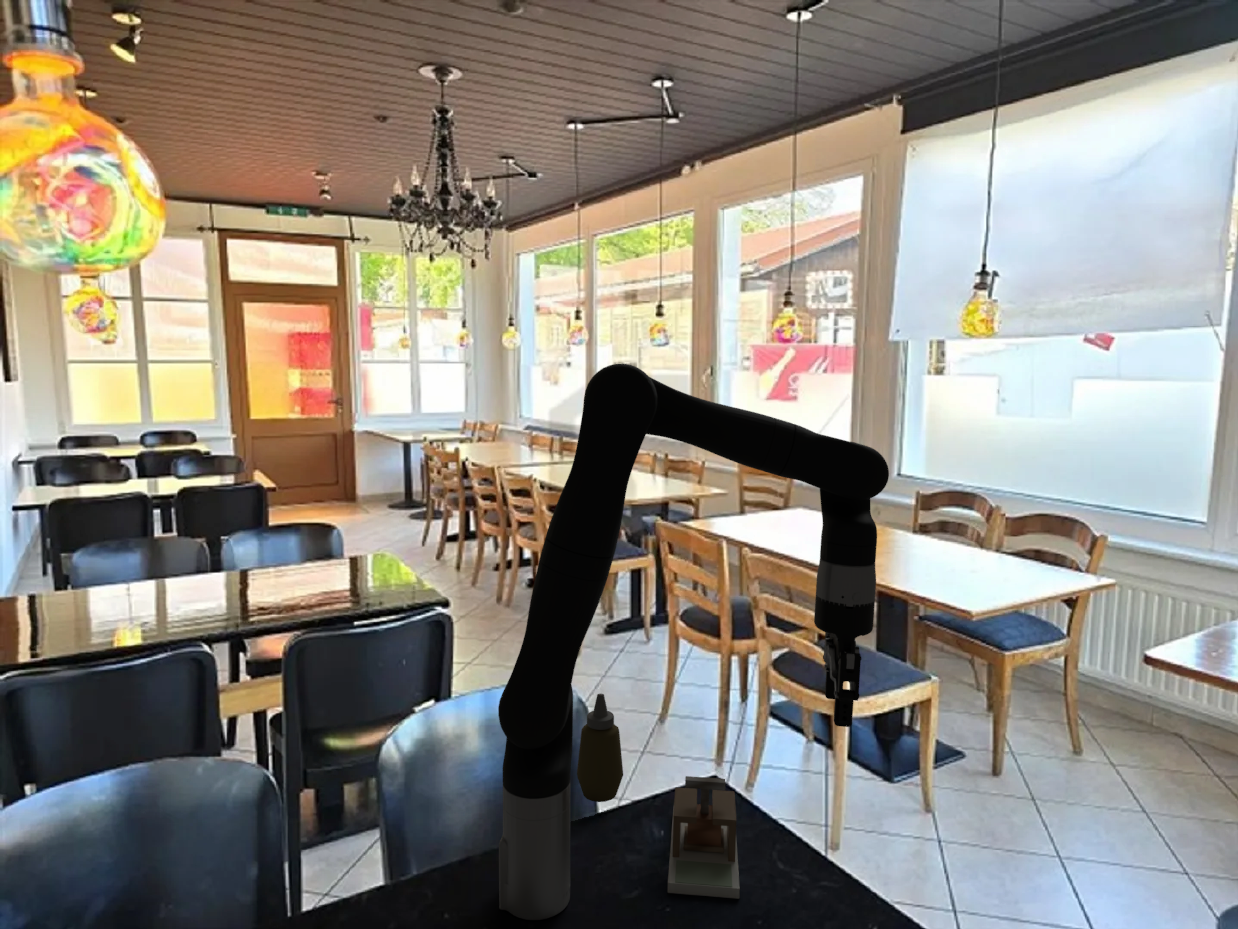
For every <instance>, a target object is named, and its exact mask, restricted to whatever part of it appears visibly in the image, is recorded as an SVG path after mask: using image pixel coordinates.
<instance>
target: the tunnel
mask: <svg viewBox="0 0 1238 929" xmlns="http://www.w3.org/2000/svg"><path fill="white" fill-rule="evenodd" d="M711 795H712V797H711V798H712V804H711V805H713V825H720V826H721V828H722V829H723V831H724V853H718V852H705V851H692V850H684V830H685V826H688V823H692V824H696V817H697V804H698V789H697V788H685V787H675V788H674V800H673V810H672V824H671V838H670V849H669V850H670V851H669V863H668V873H667V874H668V876H667V893H668V894H677V895H690V896H704V897H705V896H706V897H715V898H725V899H726V898H727V899H738V900H739V899H740V888H741V887H740V876H739V875H740V874H739V861H738V859H739V858H738V857H739V856H738V844H737V842H738V841H737V840H738V839H737V808H736V797H735V795H736V794H735V791H733V790H712V794H711Z"/></svg>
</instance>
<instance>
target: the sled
mask: <svg viewBox="0 0 1238 929" xmlns="http://www.w3.org/2000/svg"><path fill="white" fill-rule="evenodd" d="M684 781H685V782H684V783H685V784H684V788H692V789H697V790H698V789H699V790H700V803H699V804H698V803H697V817H696V824H692V823H688V826H685V830H684V850H692V851H705V852H718V853H724V831H723V829H722V828H721V826H720V825H713V805H712V804H710V790H712V791H713V790H722V791H726V778H719V777H705V776H703V777H702V776H689V775H685V778H684Z"/></svg>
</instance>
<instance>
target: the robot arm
mask: <svg viewBox="0 0 1238 929" xmlns="http://www.w3.org/2000/svg"><path fill="white" fill-rule="evenodd" d="M582 407H583V408H582V414H581V419H580V427H579V432H578V439H577V443H576V449H575V454H574V458H573V462H572V466H571V469H570V471H569V474H568V476H567V479H566V481H565V484H564V486H563V488H562V491H561V493H560V496H559V498H558V500H557V503H556V506H555V509H554V511H553V514H552V516H551V518H550V523H549V525H548V528H547V531H546V533H545V538H544V541H543V546H542V549H541V552H540V556H539V560H538V564H537V568H536V574H535V578H534V581H533V585H532V591H531V595H530V596H531V597H530V600H529V601H530V602H529V607H528V615H527V621H526V627H525V632H524V636H523V639H522V644H521V647H520V649H519V650H520V651H519V653H518V656H517V658H516V660H515V661H516V662H515V663H514V665H513V669H512V671H511V673H510V674H511V675H510V676H509V679H508V681H507V683H506V685H505V687H504V689H503V690H502V693H501V696H500V699H499V701H498V706H497V707H498V712H497V714H498V721H499V725H500V728H501V730H502V733H504V735H505V737H506V739H505V740H506V741H505V748H504V756H503V762H502V836H501V837H500V838H501V839H500V840H499V843H498V883H499V884H498V889H499V890H498V894H499V896H498V900H499V902H498V903H499V904H498V905H499V907H498V908H499V910H501V911H507V912H508V913H509V914H511V915H513V916H514V917H516V918H519V919H523V920H525V921H526V920H527V921H542V920H547V919H549V918H553V917H554V916H556V915H557V916H558V914H560V913H561V912H563V911H564V910H565V908H567V906H568V905H569V902H570V900H571V774H572V773H571V770H572V756H573V736H574V735H573V730H574V724H573V722H574V692H573V686H572V683H573V682H572V681H573V677H574V672H575V667H576V664H577V660H578V656H579V653H580V650H581V647H582V645H583V642H584V639H585V638H586V635H587V632H588V631H589V628H590V625H591V623H592V621H593V618H594V616H595V613H596V611H597V608H598V606H599V604H600V600H601V598H602V594H603V592H604V589H605V587H606V584H607V580H608V577H609V575H610V571H611V567H612V563H613V560H614V557H615V553H616V549H617V546H618V540H619V536H620V530H621V527H622V521H623V514H624V508H625V502H626V501H625V500H626V494H627V489H628V485H629V481H630V477H631V475H632V470H633V468H634V465H635V462H636V461H637V458H638V455H639V453H640V450H641V447H642V445H643V442H644V439H645V438H646V435H649V436H650V435H651V436H656V437H662V438H667V439H670V440H673V441H678V442H682V443H685V444H688V445H691V446H694V447H696V448H700V449H702V450H704V451H706V452H709V453H712V454H713V455H717V456H719V457H722V458H724V459H727V460H729V461H732V462H733V463H737V464H740V465H742V466H745V467H749V468H752V469H754V470H758V471H760V472H764V473H767V474H772V475H775V476H777V477H782V478H786V479H790V480H795V481H800V482H803V483H805V484H808V485H810V486H813V487H815V488H818V489H819V498H820V508H821V510H820V511H821V517H822V528H821V529H822V530H821V536H820V548H819V549H820V551H819V552H820V553H819V562H818V563H819V564H818V568H817V572H816V583H815V586H816V587H815V601H814V618H813V621H814V622H813V623H814V626H815V627H816V628H817V629H818V630H820V631H822V632H824V646H823V655H822V659H823V662H824V664H823V665H824V671H825V684H824V686H825V687H824V695H825V698H826V699H829V700H834V707H833V708H834V709H833V723H834V725H835V726H836V727H843V728H845V727H846V728H850V727H852V726H853V725H852V724H853V717H854V716H853V713H854V712H853V711H854V701H855V702H856V701H857V702H858V701H859V698H860V677H861V661H862V655H861V653H860V647H859V646H858V645H857V641H856V639H857V638H858V637H861V636H862V637H863V636H868V635H869V634H870V633H872V632H873V631H874V630H873V629H874V617H875V604H876V602H875V601H876V591H877V590H876V589H877V577H876V576H877V573H876V560H877V558H876V557H877V546H878V545H877V543H878V530H877V525H876V522H875V521H874V519H873V517H872V512H871V499H872V498H875V497H876V496H878V495H879V494H880V493H882V491H883V490H884V489H885V488H886V486H887V485H888V482H889V476H890V470H889V465H888V462H887V460H886V459H885V458H884V456H883V455H882V454H881V452H879V451H877V450H876V449H874V448H873V447H870V446H868V445H865V444H862V443H858V442H854V441H848V440H844V439H840V438H836V437H833V436H828V435H825V434H820V433H818V432H814V431H813V430H810V429H808V428H806V427H804V426H801V425H799V424H795V423H792V422H790V421H787V420H783V419H779V418H776V417H773V416H771V415H770V416H769V415H765V414H762V413H759V412H754V411H751V410H746V409H742V408H739V407H733V406H730V405H725V404H721V403H717V402H713V401H710V400H706V399H703V398H700V397H697V396H693V395H691V394H689V393H685V392H682V391H681V390H678V389H675V388H673V387H671V386H669V385H668V384H667V385H666V384H664V383H662V382H660V381H658V380H656V379H655V378H652V377H650V376H649V375H648V374H647V373H646V372H645V371H643V370H642V369H641V368H639V367H637V366H635V365H632V364H627V363H614V364H610V365H607V366H605V367H603V368H601V369H600V370H598V371H596V373H595V374H594V375H593V376H592V377H591V379H590V380H589V381H588V383H587V386H586V388H585V390H584V395H583V406H582ZM845 682H847V683H849V689H848V688H847V689H846V688H844V683H845Z"/></svg>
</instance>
